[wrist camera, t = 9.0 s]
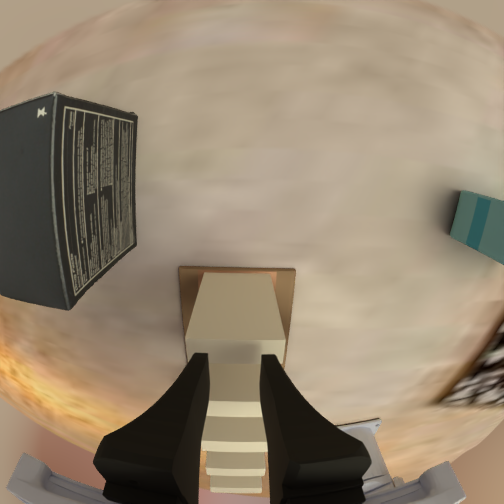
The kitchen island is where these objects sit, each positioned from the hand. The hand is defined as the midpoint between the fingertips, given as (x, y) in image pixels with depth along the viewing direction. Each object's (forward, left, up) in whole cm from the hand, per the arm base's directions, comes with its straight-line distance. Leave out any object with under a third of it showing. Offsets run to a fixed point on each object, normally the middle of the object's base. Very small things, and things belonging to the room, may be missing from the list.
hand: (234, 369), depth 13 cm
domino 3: (-10, 0, -10) cm, 14 cm away
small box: (+8, +11, -11) cm, 17 cm away
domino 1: (0, 0, -10) cm, 10 cm away
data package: (+6, -25, -11) cm, 28 cm away
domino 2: (-5, 0, -10) cm, 11 cm away
